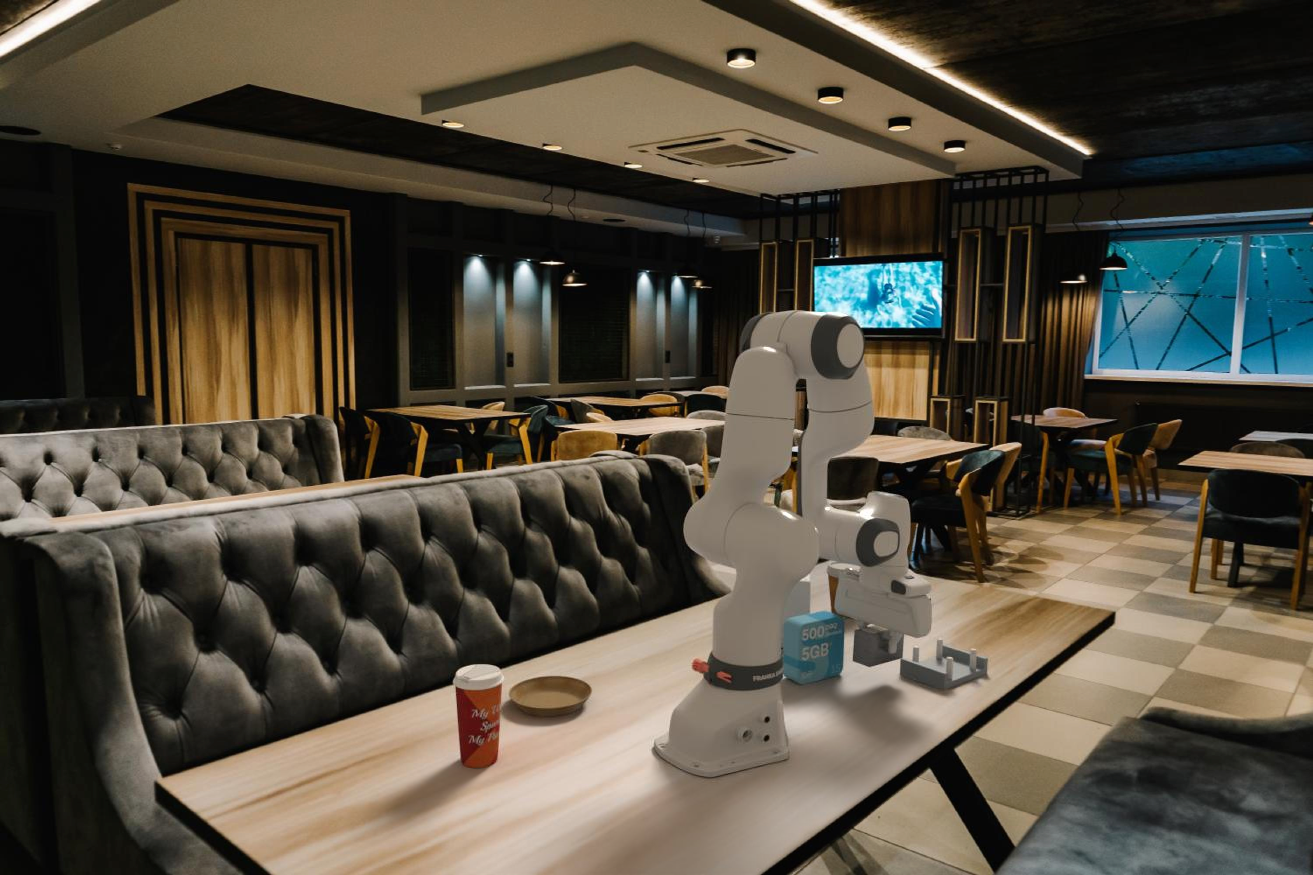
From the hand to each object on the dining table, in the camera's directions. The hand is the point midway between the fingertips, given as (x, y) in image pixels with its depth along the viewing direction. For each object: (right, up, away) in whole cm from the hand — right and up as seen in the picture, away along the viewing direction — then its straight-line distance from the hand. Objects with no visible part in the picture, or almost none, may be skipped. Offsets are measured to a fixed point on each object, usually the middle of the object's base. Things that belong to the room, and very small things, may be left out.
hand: (878, 648), depth 168 cm
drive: (0, -2, 0) cm, 2 cm away
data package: (-12, -7, +4) cm, 14 cm away
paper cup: (-70, -10, -32) cm, 77 cm away
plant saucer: (-61, -8, -10) cm, 63 cm away
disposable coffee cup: (+3, -3, +45) cm, 45 cm away
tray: (+15, -7, +6) cm, 17 cm away
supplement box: (-14, -5, +24) cm, 28 cm away
